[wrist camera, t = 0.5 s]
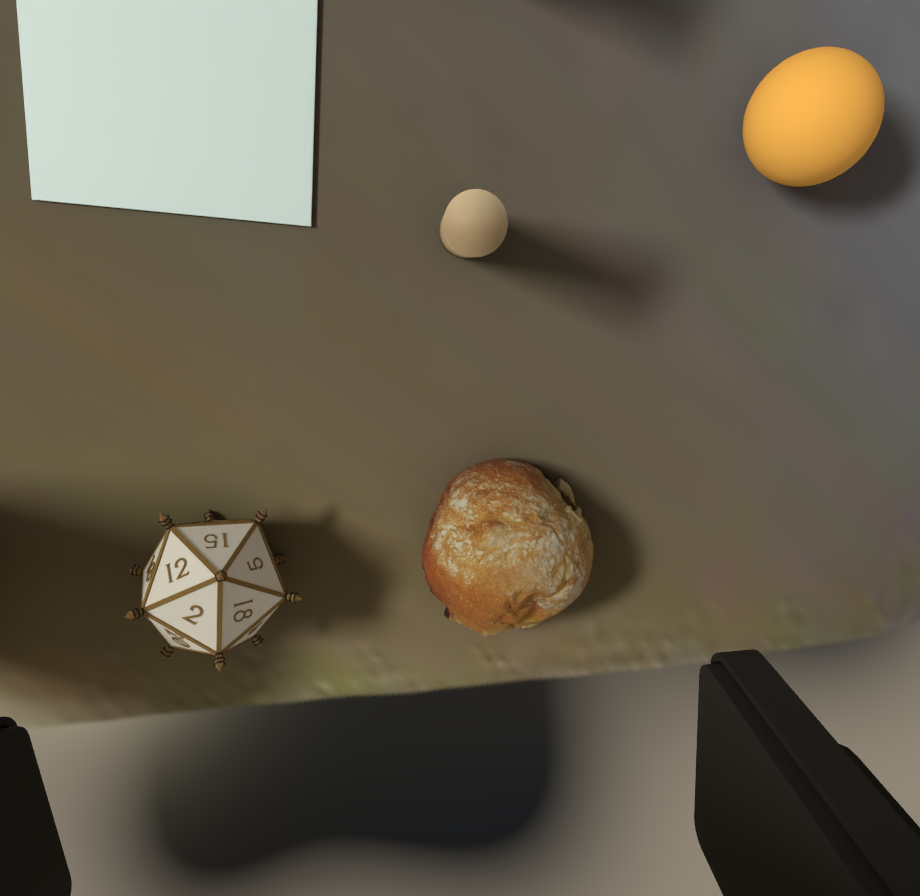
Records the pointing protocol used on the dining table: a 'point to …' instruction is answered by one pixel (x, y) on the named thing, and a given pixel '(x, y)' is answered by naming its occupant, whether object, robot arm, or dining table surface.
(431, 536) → the bread roll
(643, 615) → the dining table surface
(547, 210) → the dining table surface
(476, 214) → the post
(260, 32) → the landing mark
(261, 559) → the game die
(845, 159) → the ball
